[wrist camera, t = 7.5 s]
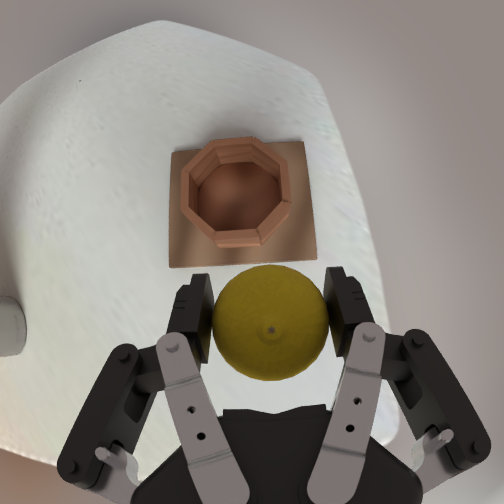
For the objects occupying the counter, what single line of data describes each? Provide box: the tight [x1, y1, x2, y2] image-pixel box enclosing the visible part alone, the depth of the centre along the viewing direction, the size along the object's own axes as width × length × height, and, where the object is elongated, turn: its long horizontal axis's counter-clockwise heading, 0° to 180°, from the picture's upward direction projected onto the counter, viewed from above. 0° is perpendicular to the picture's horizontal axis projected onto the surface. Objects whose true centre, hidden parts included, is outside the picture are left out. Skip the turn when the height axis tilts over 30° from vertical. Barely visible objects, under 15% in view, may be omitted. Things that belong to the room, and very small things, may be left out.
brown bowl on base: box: [169, 137, 317, 268], centre depth 31 cm, size 16×14×6 cm
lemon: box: [212, 265, 329, 381], centre depth 14 cm, size 6×6×8 cm
